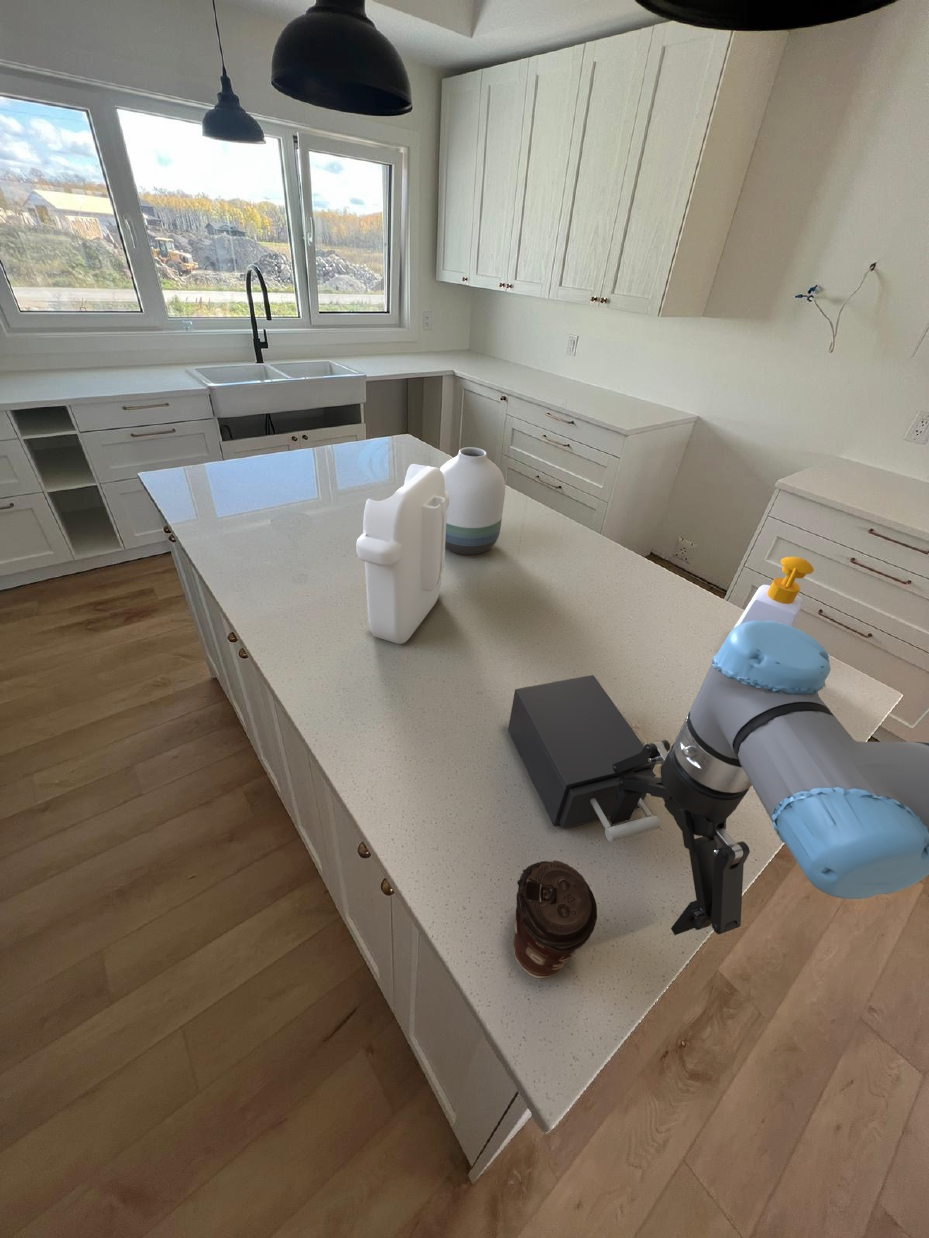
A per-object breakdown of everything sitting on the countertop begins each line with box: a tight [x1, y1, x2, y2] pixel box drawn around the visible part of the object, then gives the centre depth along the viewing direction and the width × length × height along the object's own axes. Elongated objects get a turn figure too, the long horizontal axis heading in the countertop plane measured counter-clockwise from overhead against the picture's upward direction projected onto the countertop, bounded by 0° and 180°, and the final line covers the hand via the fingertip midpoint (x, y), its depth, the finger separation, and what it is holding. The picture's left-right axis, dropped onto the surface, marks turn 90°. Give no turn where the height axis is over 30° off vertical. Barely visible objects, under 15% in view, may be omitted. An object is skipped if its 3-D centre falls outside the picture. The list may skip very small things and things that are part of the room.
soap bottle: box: [733, 556, 815, 629], centre depth 97 cm, size 10×14×22 cm
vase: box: [439, 446, 506, 555], centre depth 125 cm, size 17×17×24 cm
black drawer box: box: [507, 674, 657, 827], centre depth 77 cm, size 18×14×10 cm
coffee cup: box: [512, 860, 598, 979], centre depth 56 cm, size 9×8×13 cm
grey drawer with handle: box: [559, 768, 661, 843], centre depth 74 cm, size 22×12×8 cm, turn 18°
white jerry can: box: [355, 463, 449, 645], centre depth 98 cm, size 27×11×30 cm, turn 160°
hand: (648, 869), depth 63 cm, fingers open, 13 cm apart
